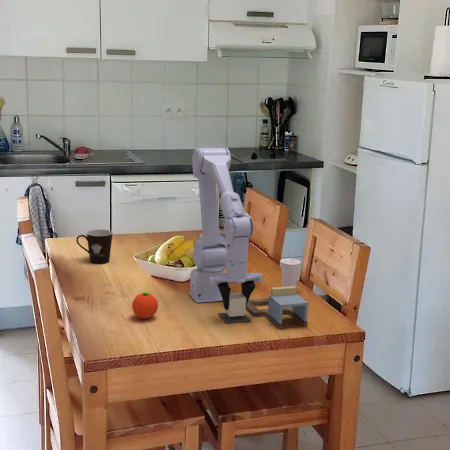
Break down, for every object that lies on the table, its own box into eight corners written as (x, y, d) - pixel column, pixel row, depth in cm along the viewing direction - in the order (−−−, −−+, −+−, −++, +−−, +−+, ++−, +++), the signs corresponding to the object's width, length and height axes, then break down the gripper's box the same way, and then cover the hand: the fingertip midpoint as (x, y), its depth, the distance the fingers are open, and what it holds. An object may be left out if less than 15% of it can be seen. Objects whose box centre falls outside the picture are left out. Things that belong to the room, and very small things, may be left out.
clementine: (134, 311, 195) (135, 286, 193) (159, 312, 195) (160, 288, 193) (129, 321, 187) (130, 296, 185) (155, 323, 187) (156, 298, 185)
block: (229, 316, 190) (230, 299, 188) (224, 310, 194) (225, 293, 192) (245, 315, 191) (246, 297, 190) (239, 309, 195) (240, 292, 194)
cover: (279, 323, 186) (280, 297, 184) (267, 312, 193) (269, 287, 192) (306, 321, 189) (308, 295, 187) (294, 310, 196) (296, 285, 194)
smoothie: (297, 295, 212) (300, 251, 209) (276, 293, 213) (279, 249, 210) (299, 289, 218) (303, 245, 215) (279, 287, 220) (282, 243, 216)
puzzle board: (266, 330, 185) (266, 325, 185) (241, 304, 203) (241, 300, 203) (318, 325, 190) (318, 320, 190) (289, 300, 208) (289, 296, 208)
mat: (226, 323, 188) (226, 322, 188) (218, 314, 195) (218, 312, 195) (250, 321, 191) (250, 320, 191) (242, 312, 197) (242, 310, 197)
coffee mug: (117, 260, 239) (118, 232, 237) (100, 266, 232) (100, 237, 230) (92, 254, 245) (92, 226, 243) (74, 260, 238) (74, 231, 236)
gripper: (215, 266, 183) (214, 315, 186) (267, 263, 187) (265, 310, 191) (207, 258, 189) (206, 306, 193) (258, 255, 194) (255, 302, 197)
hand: (234, 307), depth 192 cm, fingers closed on block, 4 cm apart
